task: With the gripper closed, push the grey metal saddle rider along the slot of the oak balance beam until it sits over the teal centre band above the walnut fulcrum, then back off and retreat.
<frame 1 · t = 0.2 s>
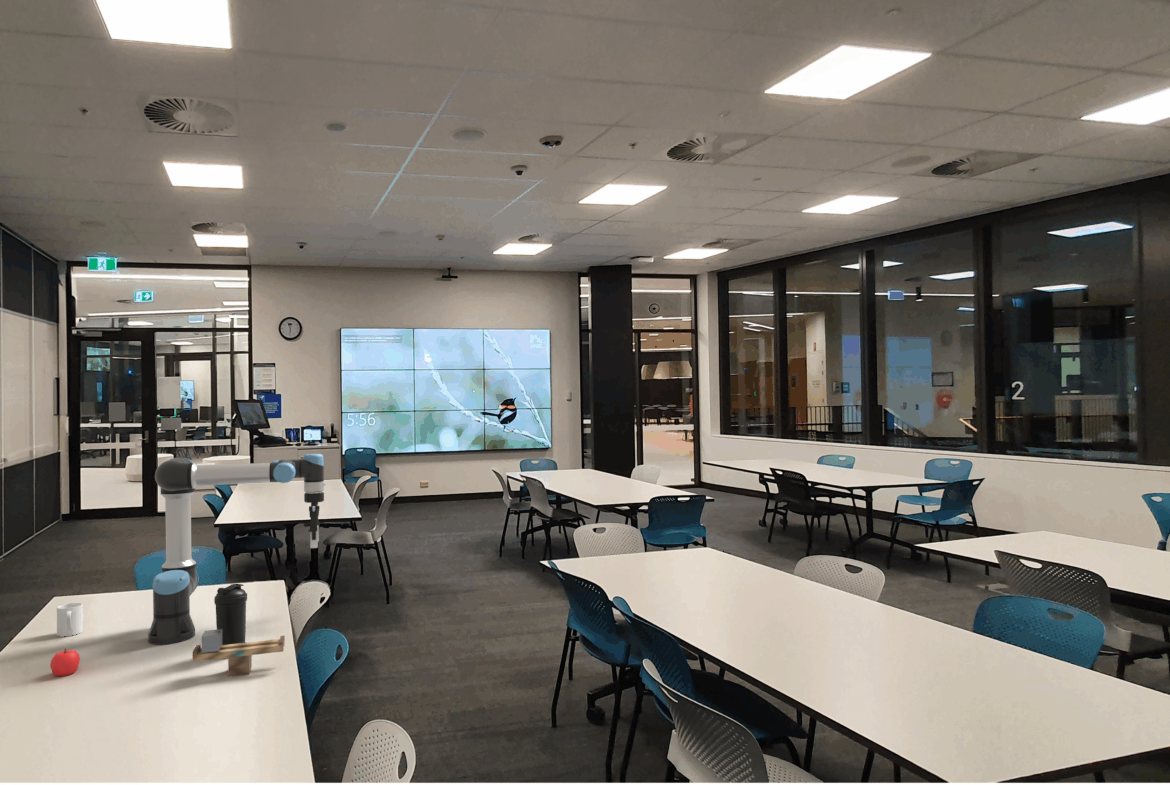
hand: (314, 544, 300), 28 cm above the table, fingers open, 13 cm apart
apple: (65, 674, 237), on the table
rider: (212, 643, 234), point 10 cm above the table, slide at -8.0 cm
water bottle: (231, 653, 254), on the table
beam: (240, 671, 237), on the table
mug: (69, 635, 276), on the table
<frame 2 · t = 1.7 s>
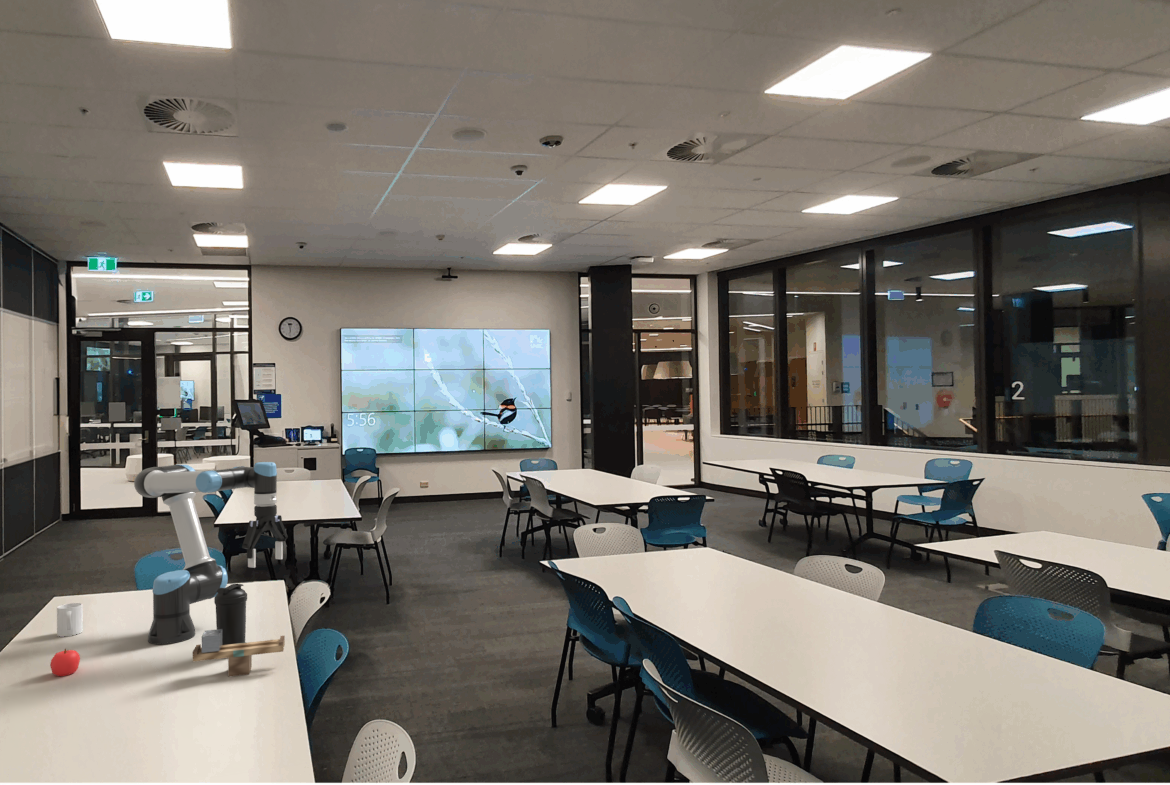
hand: (265, 563, 270), 27 cm above the table, fingers open, 13 cm apart
nothing on the table moved.
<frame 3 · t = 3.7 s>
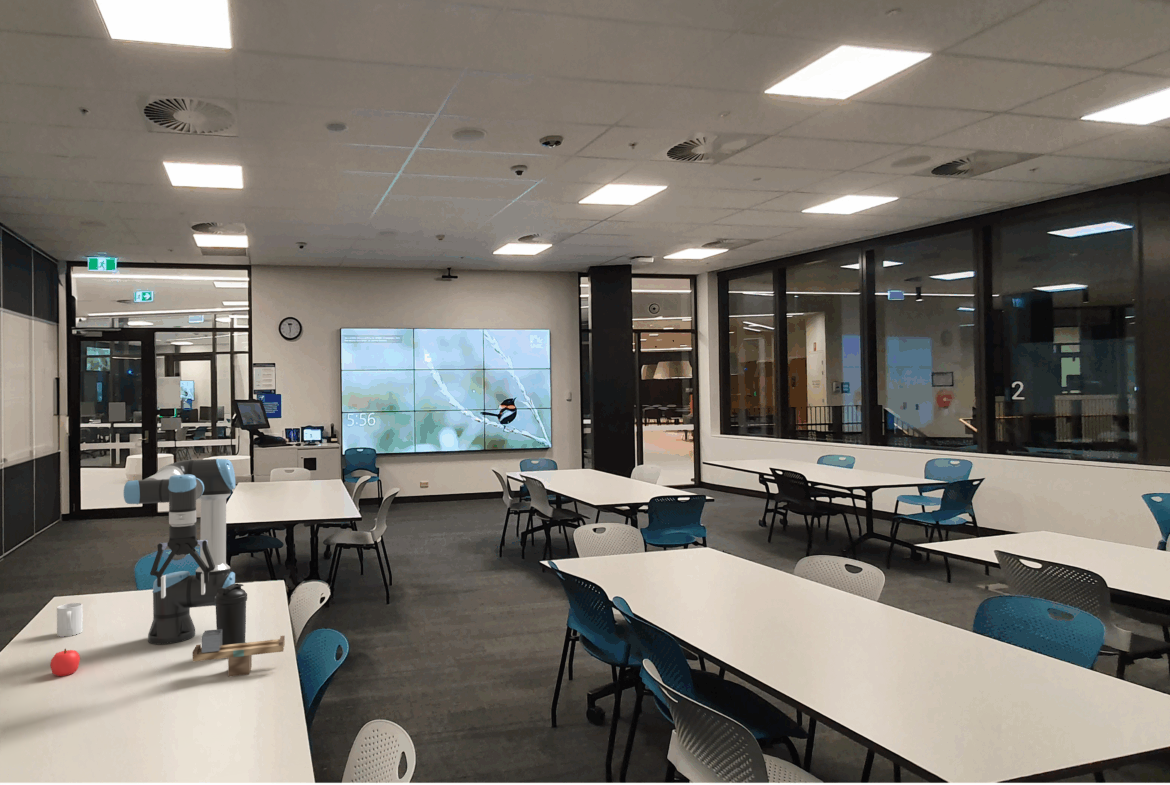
hand: (183, 595, 232), 26 cm above the table, fingers open, 10 cm apart
nothing on the table moved.
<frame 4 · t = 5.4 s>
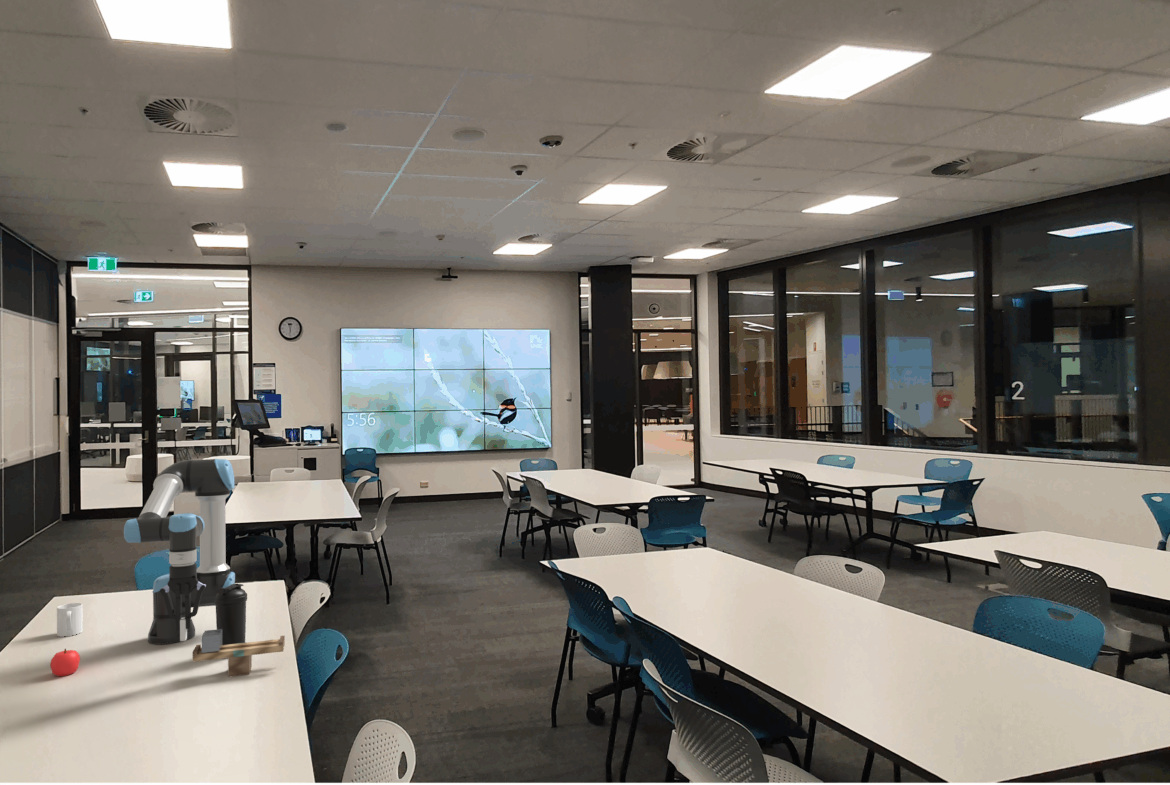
hand: (183, 639, 232), 12 cm above the table, fingers closed
nothing on the table moved.
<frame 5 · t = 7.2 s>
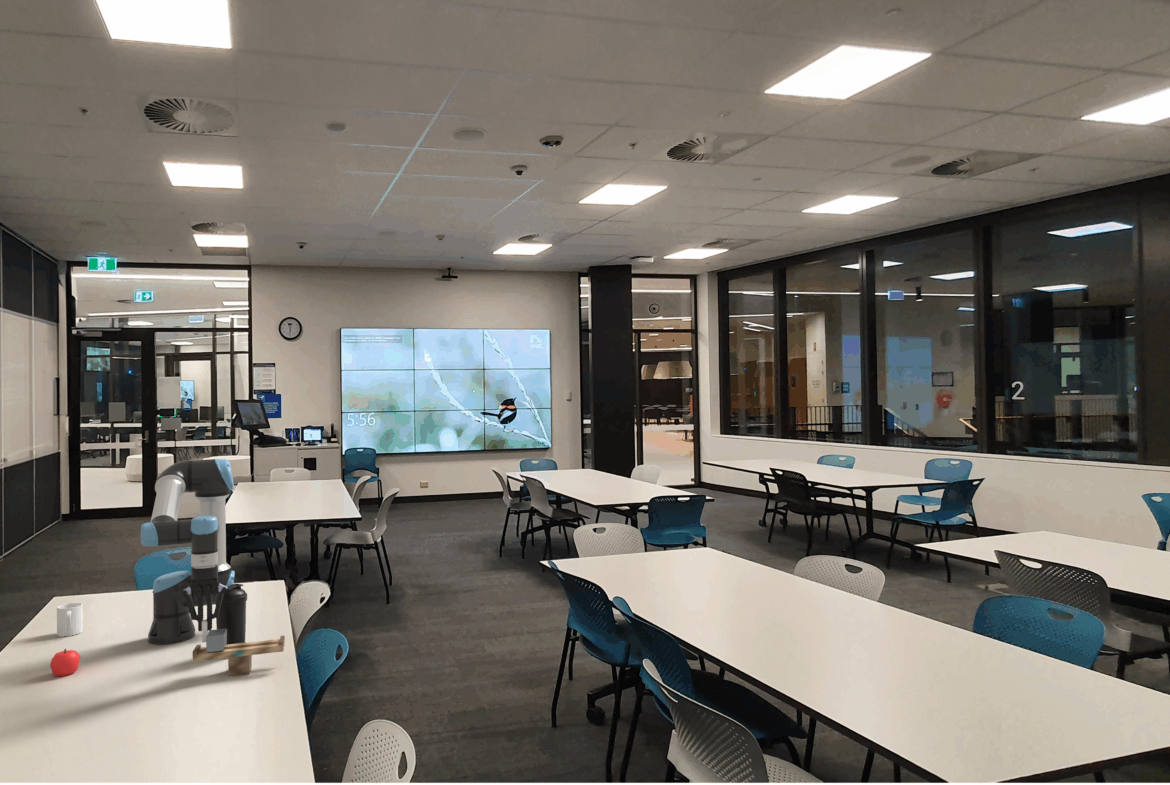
hand: (205, 640, 234), 11 cm above the table, fingers closed
rider: (216, 643, 235), point 10 cm above the table, slide at -6.7 cm, touching gripper
everything else where it was.
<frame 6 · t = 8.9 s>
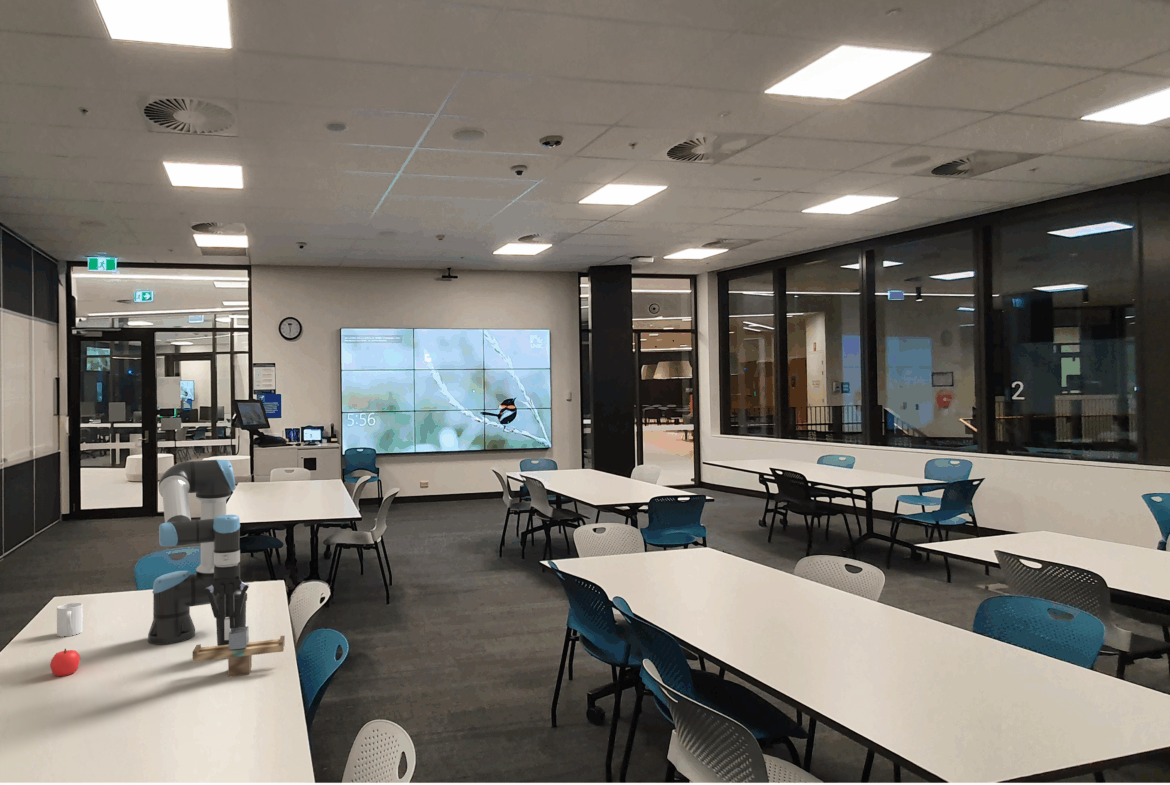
hand: (227, 638, 236), 11 cm above the table, fingers closed
rider: (238, 641, 237), point 10 cm above the table, slide at -0.3 cm, touching gripper
everything else where it was.
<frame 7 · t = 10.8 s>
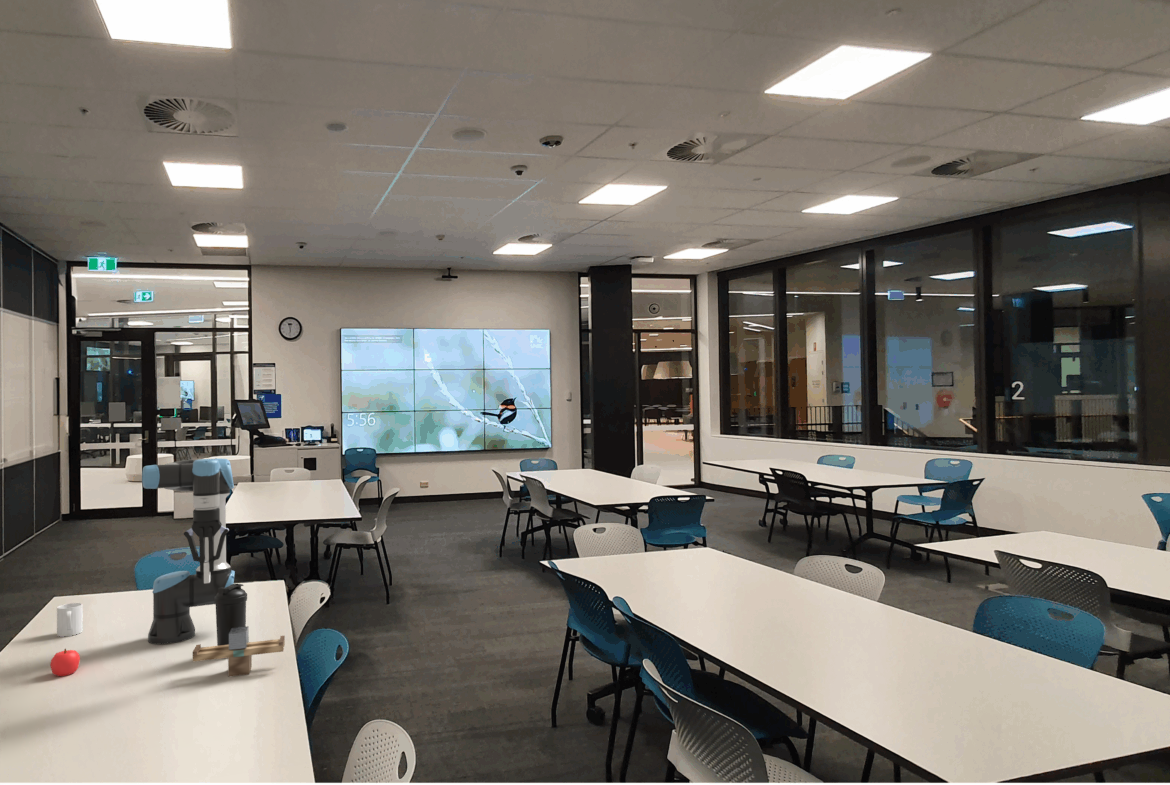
hand: (207, 582, 236), 29 cm above the table, fingers closed
rider: (238, 641, 237), point 10 cm above the table, slide at -0.3 cm
everything else where it was.
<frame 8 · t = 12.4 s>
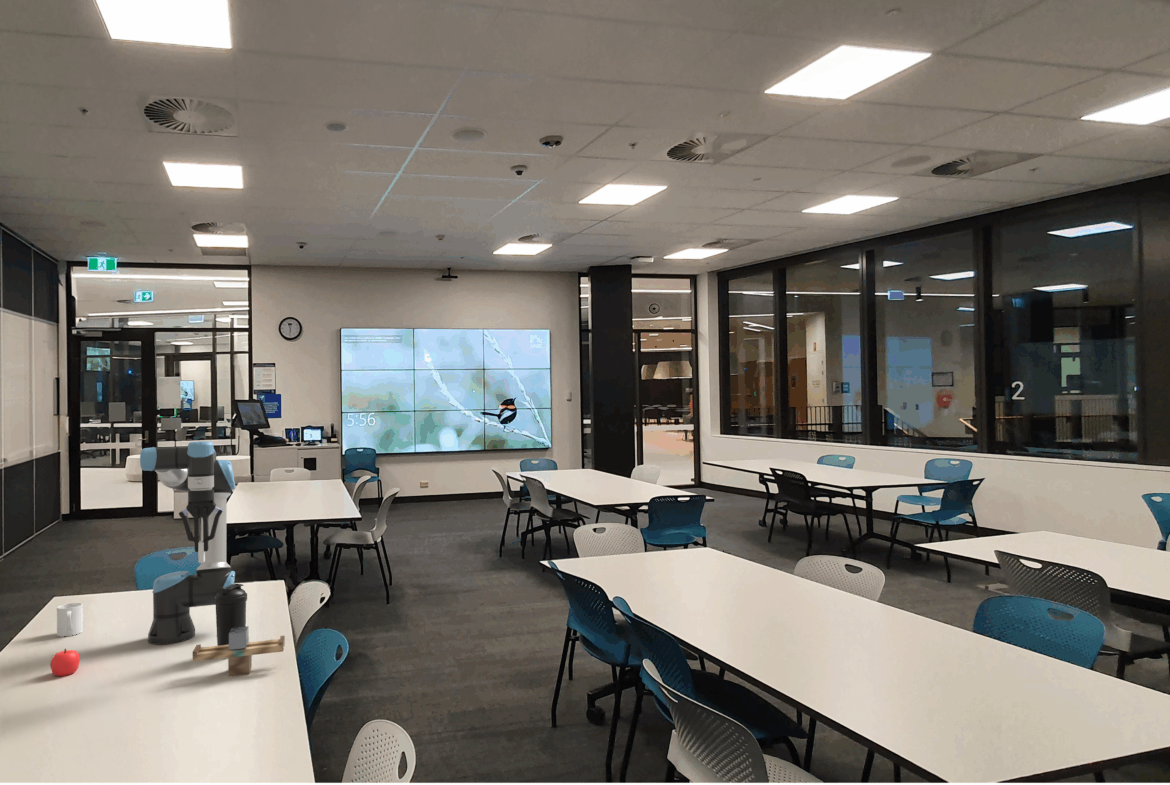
hand: (201, 561, 241), 34 cm above the table, fingers closed
nothing on the table moved.
at the end: rider slide at -0.3 cm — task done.
